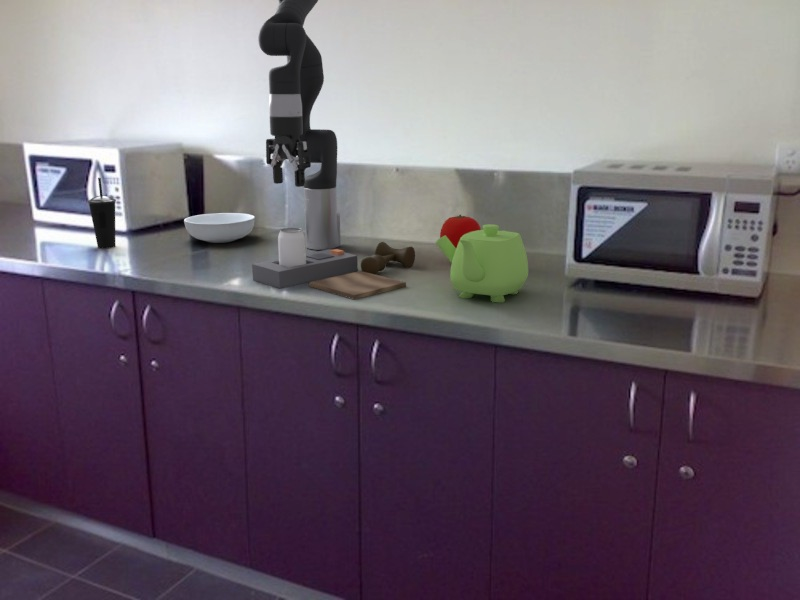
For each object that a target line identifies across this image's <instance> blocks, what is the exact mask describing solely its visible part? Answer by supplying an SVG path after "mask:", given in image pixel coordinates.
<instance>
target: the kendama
mask: <svg viewBox="0 0 800 600" xmlns="http://www.w3.org/2000/svg"><path fill="white" fill-rule="evenodd" d="M415 260H416V251H415V248H414V247H413V246H405V247H404V248H393V247H391V246H390V245H389V244H387V242H385V241H380V242H379V243H378V244H377V245H376V248H375V250H374V254H373V255H371V256H365V257H363V258H362V260H361V261H360V271H363V272H367V273H371V274H375V275H378V274H379V272H382V271H385V269H386V267H387V264H388V263H390V262H395V263H396V262H397V263H400V264H401V265H403V266H404V267H405V268H407V269H408V268H411V267H413V265H414V263H415Z"/></svg>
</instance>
